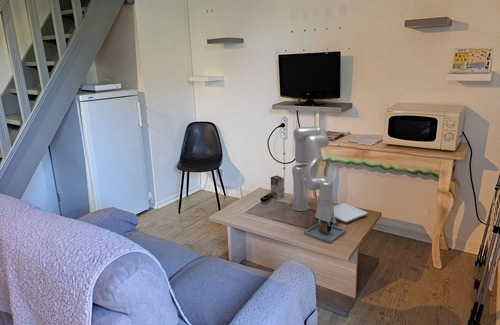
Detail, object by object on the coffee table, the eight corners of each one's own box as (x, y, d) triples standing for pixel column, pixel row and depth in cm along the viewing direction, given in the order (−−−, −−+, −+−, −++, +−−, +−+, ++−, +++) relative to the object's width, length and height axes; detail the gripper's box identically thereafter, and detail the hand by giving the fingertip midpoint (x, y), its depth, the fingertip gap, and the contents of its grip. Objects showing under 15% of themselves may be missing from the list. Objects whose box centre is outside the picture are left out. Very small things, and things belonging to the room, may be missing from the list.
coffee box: (270, 196, 275) (270, 176, 271) (277, 194, 278) (276, 175, 274) (277, 200, 268) (277, 179, 263) (284, 198, 271) (284, 178, 266)
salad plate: (345, 226, 224) (345, 220, 223) (321, 214, 241) (321, 210, 240) (368, 217, 235) (368, 212, 234) (343, 207, 252) (343, 202, 251)
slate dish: (303, 234, 215) (303, 231, 214) (320, 224, 227) (320, 221, 226) (330, 243, 202) (330, 241, 202) (346, 232, 215) (346, 229, 214)
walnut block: (319, 231, 214) (319, 222, 213) (323, 228, 218) (323, 219, 216) (326, 233, 211) (326, 224, 209) (330, 230, 214) (331, 221, 213)
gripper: (309, 199, 212) (309, 227, 217) (335, 207, 201) (334, 236, 206) (316, 196, 217) (316, 223, 222) (342, 203, 206) (341, 231, 211)
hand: (325, 229), depth 214 cm, fingers closed on walnut block, 4 cm apart
